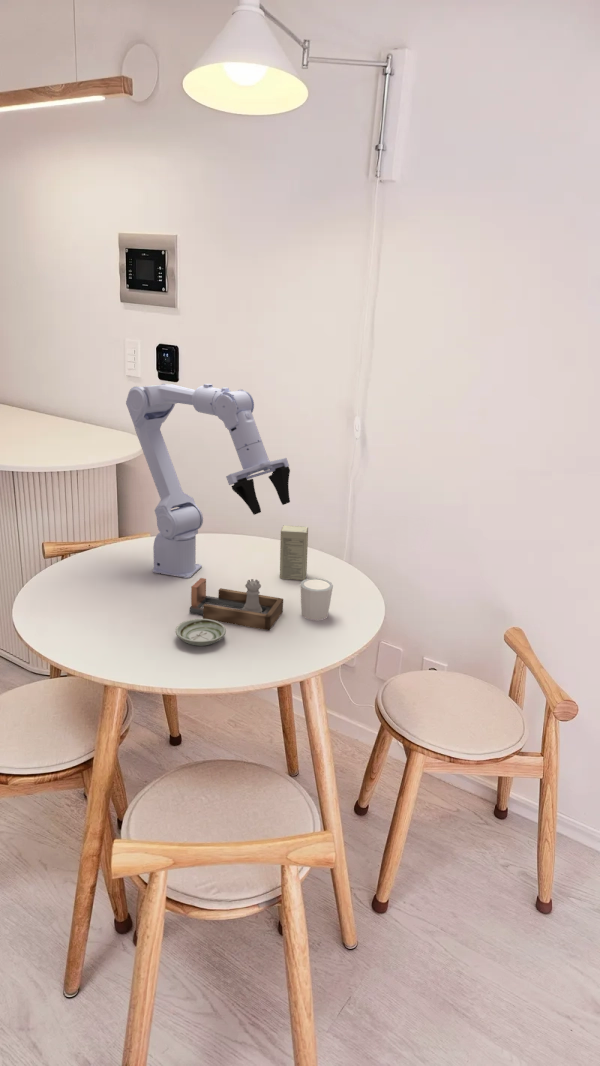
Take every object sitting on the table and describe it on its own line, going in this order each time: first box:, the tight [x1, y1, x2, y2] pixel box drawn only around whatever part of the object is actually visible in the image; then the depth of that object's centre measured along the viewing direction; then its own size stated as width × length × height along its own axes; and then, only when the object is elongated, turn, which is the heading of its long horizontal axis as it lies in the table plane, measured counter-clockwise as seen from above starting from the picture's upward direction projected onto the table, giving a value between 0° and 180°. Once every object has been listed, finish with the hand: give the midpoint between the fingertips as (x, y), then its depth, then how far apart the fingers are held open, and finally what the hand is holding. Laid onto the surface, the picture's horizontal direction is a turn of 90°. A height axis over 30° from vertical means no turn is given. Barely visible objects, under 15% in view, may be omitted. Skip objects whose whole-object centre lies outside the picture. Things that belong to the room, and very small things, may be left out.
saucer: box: [175, 618, 227, 647], centre depth 135 cm, size 10×10×2 cm
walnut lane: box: [202, 587, 284, 631], centre depth 146 cm, size 14×9×3 cm, turn 75°
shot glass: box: [299, 577, 334, 621], centre depth 147 cm, size 7×7×7 cm
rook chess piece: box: [241, 578, 263, 614], centre depth 144 cm, size 4×4×8 cm
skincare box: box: [279, 525, 309, 581], centre depth 165 cm, size 6×4×12 cm
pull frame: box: [189, 577, 272, 616], centre depth 146 cm, size 16×7×6 cm, turn 75°
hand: (272, 508), depth 144 cm, fingers open, 7 cm apart
